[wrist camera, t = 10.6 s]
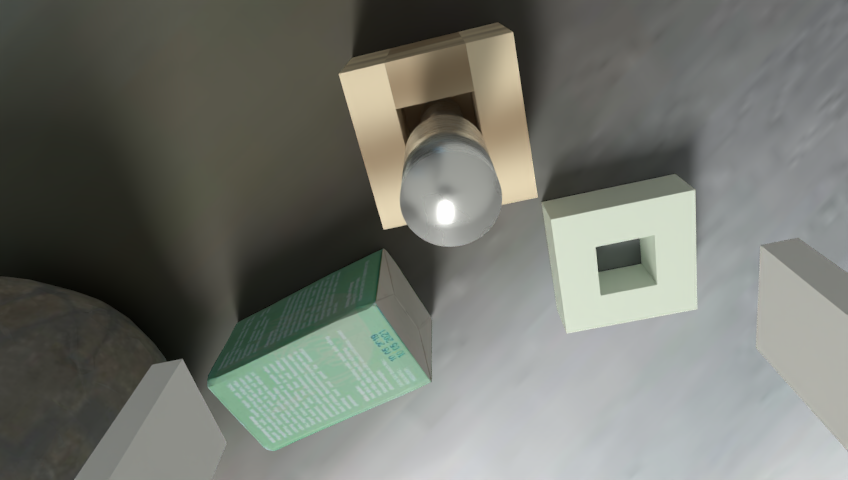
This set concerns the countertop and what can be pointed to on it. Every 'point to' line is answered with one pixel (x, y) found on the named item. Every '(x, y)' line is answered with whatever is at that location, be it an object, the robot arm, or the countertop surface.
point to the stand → (616, 222)
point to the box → (326, 353)
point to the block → (431, 80)
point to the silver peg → (448, 178)
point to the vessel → (62, 376)
